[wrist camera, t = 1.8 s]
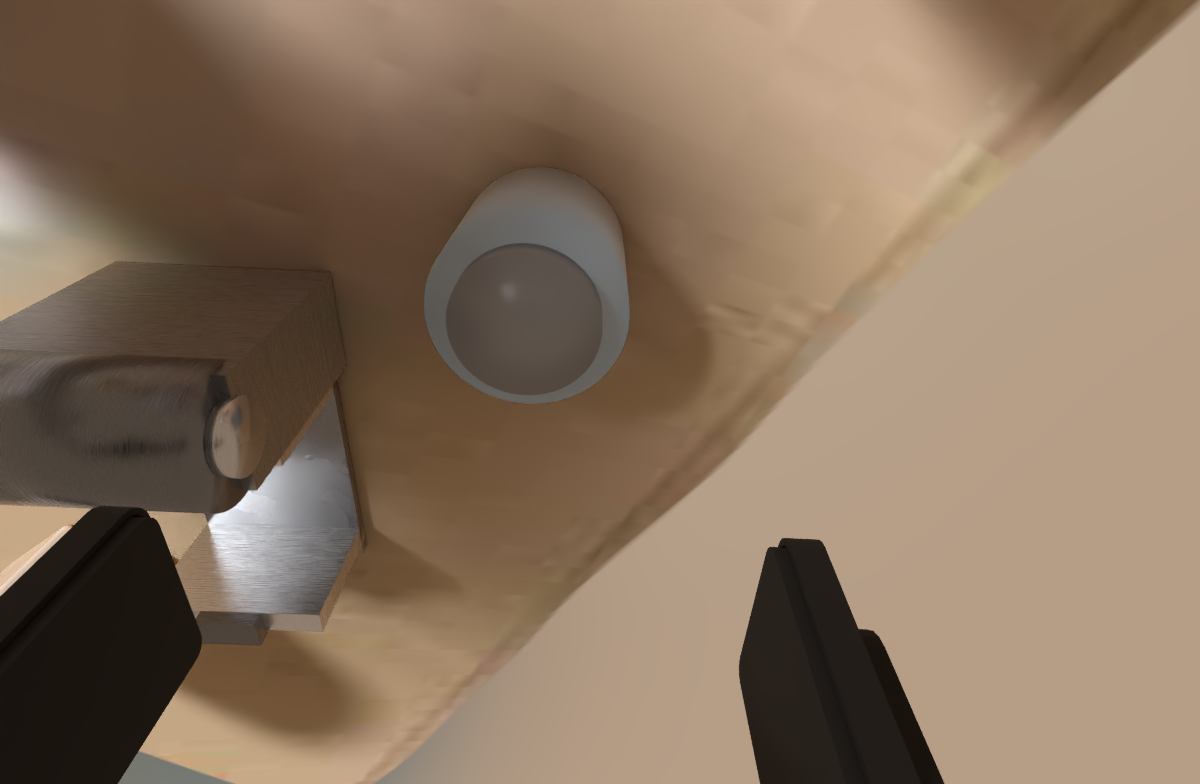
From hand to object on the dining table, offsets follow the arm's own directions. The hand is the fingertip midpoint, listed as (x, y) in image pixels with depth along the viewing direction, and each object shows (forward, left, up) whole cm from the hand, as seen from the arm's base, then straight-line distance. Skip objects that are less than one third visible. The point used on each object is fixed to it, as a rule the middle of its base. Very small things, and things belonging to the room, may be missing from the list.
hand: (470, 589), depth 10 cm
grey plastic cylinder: (0, 0, -16) cm, 16 cm away
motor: (+8, -12, -16) cm, 22 cm away
